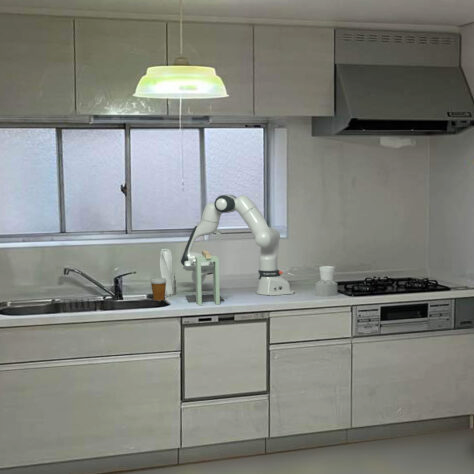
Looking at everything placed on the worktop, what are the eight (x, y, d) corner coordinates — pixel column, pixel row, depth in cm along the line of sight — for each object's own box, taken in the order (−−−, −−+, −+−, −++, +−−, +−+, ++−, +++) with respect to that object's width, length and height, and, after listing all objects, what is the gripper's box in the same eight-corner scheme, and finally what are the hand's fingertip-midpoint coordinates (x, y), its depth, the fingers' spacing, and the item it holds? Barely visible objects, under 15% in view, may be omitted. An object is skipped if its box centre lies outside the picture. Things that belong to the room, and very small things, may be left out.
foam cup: (333, 288, 448) (333, 268, 447) (318, 288, 450) (318, 267, 449) (334, 286, 458) (334, 266, 456) (320, 286, 459) (320, 265, 458)
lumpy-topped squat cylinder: (339, 295, 425) (339, 280, 425) (321, 297, 419) (321, 282, 418) (329, 292, 434) (329, 278, 434) (311, 294, 428) (311, 280, 427)
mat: (218, 295, 432) (218, 294, 432) (224, 300, 411) (224, 299, 411) (185, 296, 428) (185, 295, 428) (188, 302, 408) (188, 301, 408)
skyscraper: (169, 296, 430) (168, 249, 428) (158, 295, 434) (156, 248, 431) (176, 294, 438) (175, 248, 435) (165, 293, 441) (164, 247, 439)
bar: (202, 254, 414) (201, 250, 414) (206, 254, 414) (206, 250, 414) (206, 258, 395) (206, 253, 395) (210, 258, 396) (210, 253, 395)
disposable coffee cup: (160, 301, 412) (159, 280, 411) (147, 300, 418) (146, 279, 416) (170, 298, 421) (170, 278, 419) (157, 297, 426) (157, 277, 425)
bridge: (217, 301, 409) (216, 255, 407) (219, 304, 400) (218, 257, 397) (196, 302, 408) (195, 256, 405) (198, 305, 398) (197, 258, 395)
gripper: (182, 264, 435) (184, 255, 423) (216, 263, 439) (219, 254, 426) (183, 274, 433) (184, 265, 420) (217, 273, 436) (219, 264, 424)
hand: (202, 260), depth 423 cm, fingers open, 8 cm apart
